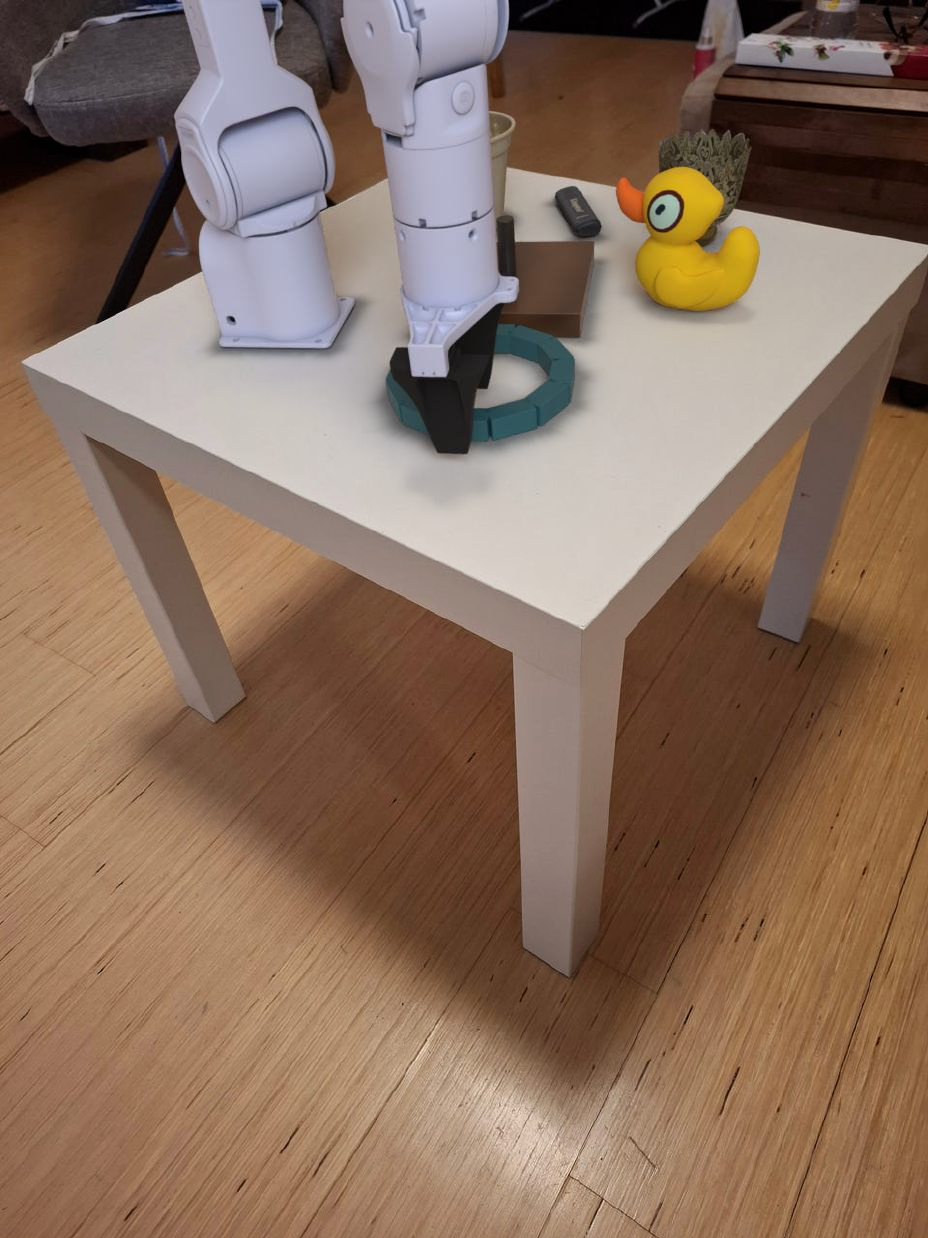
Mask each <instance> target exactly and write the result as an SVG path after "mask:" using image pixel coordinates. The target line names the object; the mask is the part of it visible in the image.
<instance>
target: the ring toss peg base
mask: <svg viewBox="0 0 928 1238" xmlns="http://www.w3.org/2000/svg"><path fill="white" fill-rule="evenodd" d="M496 228H497V229H496V243H497V260H498V271H499V272H500V273H506V274H508V275H510V276H511V277H516V278H518V280H519V292H518V296H517V299H516V300H515V301H513V302H510V303H505V304H504V306H503V309H502V311H501V315H500V319H499V323H498V324H515V327H517V326H518V325H521V326H524V327H527V328H531V329H534V330H537V331H540V332H543V333H546V334H550V335H552V336H553V338H555V337H556V338H581V335H582V330H583V323H584V319H585V315H586V308H587V303H588V297H589V292H590V286H591V281H592V276H593V271H594V265H595V241H594V240H571V241H570V240H567V241H565V240H562V241H561V240H559V241H557V240H556V241H550V240H549V241H516V233H515V232H516V231H515V217H514V216H513V215H507V214H506V215H505V214H504V216H500V217H498V218H497V219H496Z"/></svg>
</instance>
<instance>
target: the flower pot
mask: <svg viewBox="0 0 928 1238" xmlns="http://www.w3.org/2000/svg"><path fill="white" fill-rule="evenodd" d="M489 120H490V140H491V157H492V175H493V192H494V208H495V226H496V219H497V218H498V217H500V216H505V201H506V200H505V198H506V185H507V184H506V183H507V169H508V155H509V154H508V153H509V148H510V147H511V143H512V133H513V132H514V131H515V129H516V120H515V119H514V117H512V116H511V115H509V114H506V113H504V112H499V111H494V110H493V111H492V110H489ZM496 230H497V228H496Z"/></svg>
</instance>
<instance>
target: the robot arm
mask: <svg viewBox="0 0 928 1238" xmlns="http://www.w3.org/2000/svg"><path fill="white" fill-rule="evenodd" d="M342 3H343V4H342V9H343V17H341V18H340V25H341V30H342V34H343V38H344V42H345V45H346V48H347V52H348V54H349V57H350V59H351V61H352V64H353V66H354V68H355V71H356V72H357V73H358V76H359V79H360V81H361V84H362V88H363V92H364V97H365V104H366V111H367V114H369V115H370V118H371V123H372V125H373V126H374V127H375V128H379V129H380V132H381V140H382V147H383V154H384V162H385V169H386V176H387V182H388V190H389V198H390V204H391V212H392V220H393V226H394V233H395V239H396V247H397V254H398V263H399V270H400V275H401V283H402V284H401V285H400V287H399V288H400V289H399V292H400V300H401V306H402V309H403V313H404V317H405V321H406V326H407V328H408V331H409V332H408V333H409V340H408V342H407V346H396V347H395V349H394V350H393V353H392V355H391V357H390V359H389V370H390V369H391V374H392V377H393V379H394V380H395V381H396V382H397V383H398V384H399V385H400V386H401V387H402V388H403V390H404V391H405V392H406V393H407V394H408V396H409V397H410V398H411V400H412V401H413V403H414V404H415V406H416V408H417V409H418V411H419V413H420V415H421V418H422V420H423V422H424V424H425V427H426V429H427V431H428V434H429V435H428V436H429V439H430V441H431V443H432V446H433V448H434V449H435V451H436V453H437V454H444V455H445V454H447V455H468V454H469V450H470V448H471V447H470V446H471V443H472V441H471V439H472V433H473V419H474V408H475V403H476V397H477V392H478V390H488V388H489V386H490V382H491V378H492V371H493V366H494V358H495V357H494V356H495V353H494V350H495V341H496V334H497V328H498V323H499V319H500V315H501V311H502V309H503V306H504V304H505V303H510V302H513V301H515V300H516V299H517V296H518V292H519V280H518V278H516V277H511V276H510V275H508V274H506V273H500V272H499V271H498V260H497V243H496V242H497V229H496V226H495V208H494V192H493V175H492V157H491V140H490V120H489V111H490V106H489V105H490V104H489V103H490V102H489V88H488V87H489V85H488V73H487V72H488V71H487V65H488V64H491V63H492V62H493V61H494V60H495V59H497V57H498V56H499V55H500V53H501V51H502V49H503V48H504V45H505V43H506V38H507V35H508V30H509V22H510V21H509V19H510V8H509V7H510V6H509V5H510V3H509V0H343V2H342ZM181 4H182V8H183V12H184V15H185V18H186V22H187V26H188V28H189V33H190V37H191V39H192V43H193V47H194V49H195V53H196V54H195V55H196V57H197V61H198V64H199V68H200V70H199V73H198V75H197V77H196V79H195V80H194V82H193V84H192V85H191V87H190V88H189V90H188V91H187V93H186V94H185V96H184V98H183V99H182V101H181V102H180V103H179V105H178V107H177V108H176V110H175V112H174V115H173V118H174V121H175V129H176V133H177V137H178V141H179V146H180V147H179V148H180V152H181V159H180V160H181V167H182V171H183V176H184V179H185V182H186V185H187V187H188V190H189V192H190V195H191V197H192V199H193V202H194V203H195V205H196V206H197V208H198V210H199V211H200V213H201V214H202V215H203V217H204V218H205V221H204V222H203V224H202V226H201V229H200V232H199V238H198V255H199V263H200V268H201V271H202V275H203V278H204V282H205V285H206V289H207V292H208V295H209V299H210V301H211V305H212V309H213V311H214V315H215V318H216V321H217V324H218V328H219V331H220V335H221V337H220V339H219V340H218V344H219V346H220V347H222V348H261V349H262V348H265V349H267V348H269V349H275V348H276V349H328V348H330V347H331V346H332V345H333V343H334V342H335V339H336V337H337V335H338V334H339V332H340V330H341V329H342V327H343V326H344V324H345V322H346V320H347V318H348V316H349V315H350V313H351V311H352V309H353V307H354V306H355V304H356V301H355V298H354V297H352V296H337V292H336V288H335V282H334V278H333V272H332V267H331V263H330V257H329V252H328V246H327V242H326V238H325V237H326V236H325V231H324V226H323V222H322V216H321V212H320V211H321V210H324V209H326V208H327V207H328V204H327V199H326V195H327V194H328V193H329V192H330V191H331V189H332V188H333V185H334V182H335V175H336V156H335V150H334V146H333V143H332V140H331V138H330V135H329V132H328V130H327V129H326V126H325V124H324V122H323V120H322V117H321V114H320V111H319V108H318V105H317V101H316V97H315V94H314V90H313V88H312V87H311V86H310V85H309V84H308V83H307V82H306V81H305V80H303V79H302V78H300V77H299V76H297V75H296V74H294V73H292V72H290V71H288V70H287V69H285V68H284V67H282V66H280V65H279V64H277V63H276V62H275V58H274V54H273V49H272V45H271V41H270V36H269V31H268V28H267V24H266V19H265V15H264V9H263V7H262V2H261V0H181Z"/></svg>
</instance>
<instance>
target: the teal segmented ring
mask: <svg viewBox="0 0 928 1238" xmlns="http://www.w3.org/2000/svg"><path fill="white" fill-rule="evenodd" d="M494 354H511V355H514V356H517V357H520V358H523V359H526V360H529V361H532V362H534V363H537V364H539V366H540V367H541V368H542V369H543V370H544V371H545V373H546V374H547V375H548V377H547V380H546V381H545V382H544V383H542V384H541V385H539V386H538V387H537V388H536V389H535V390H533V391H532V392H530V393H529V394H528V395H526V396H525V397H524V398H523V397H522V398H520V399H516V400H512V401H509V402H505V403H501V404H498V405H494V406H491V407H487V408H483V407H474V419H473V433H472V439H471V442H489V440H490V438H491V440H492V441H497V440H501V439H505V438H508V437H512V436H515V435H518V434H522V433H527V432H529V431H533V430H536V429H538V426H539V427H543V426H544V425H545V424H547V422H549V421H550V420H552V419H553V418H554V417H555V416H556V415H558V414H559V413H560V412H561V411H563V410H565V409H566V408H567V407H568V406H569V403H571V402H572V395H573V390H574V385H575V381H576V359H575V357H574V355H573V354H572V353H571V351H569V350H568V348H566V346H565V345H564V344H563V343H562V342H561V341H560V340H559V338H558V337H553V336H552V335H550V334H546V333H543V332H540V331H537V330H534V329H531V328H527V327H524V326H521V325H518V326H517V327H515V324H498V328H497V334H496V341H495V350H494ZM385 387H386V393H387V399H388V402H389V404H390V406H391V407H392V409H393V411H394V412H395V414H396V416H397V417H398V419H399V421H400V423H403V425H404V426H406V427H408V428H411V429H413V430H414V431H417V432H420V433H423V434H424V435H427V436H429V434H428V431H427V429H426V427H425V424H424V422H423V420H422V418H421V415H420V413H419V411H418V409H417V408H416V406H415V404H414V403H413V401H412V400H411V398H410V397H409V396H408V394H407V393H406V392H405V391H404V390H403V388H402V387H401V386H400V385H399V384H398V383H397V382H396V381H395V380H394V379H393V377H392V374H391V369H390V368H389V371H388V373H387V375H386V377H385Z"/></svg>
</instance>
